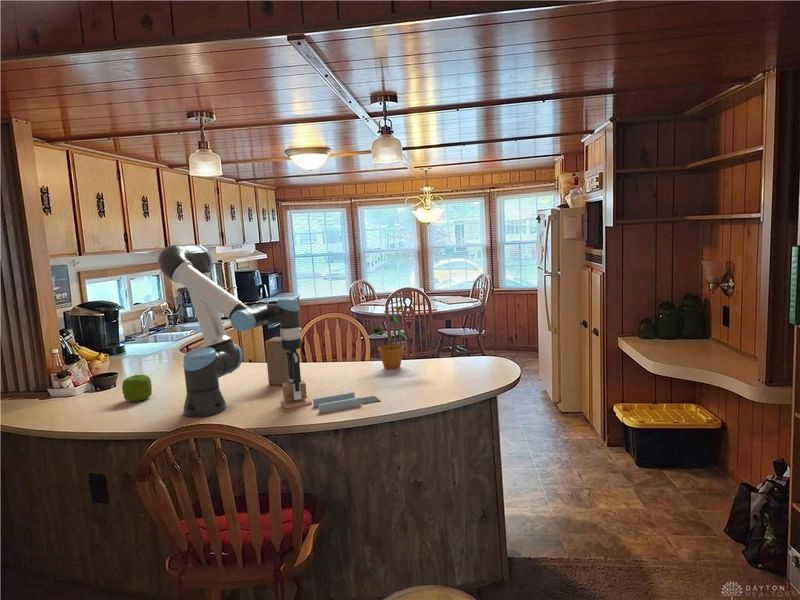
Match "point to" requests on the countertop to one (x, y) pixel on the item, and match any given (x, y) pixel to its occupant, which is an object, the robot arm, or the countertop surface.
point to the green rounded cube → (137, 388)
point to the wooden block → (276, 362)
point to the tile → (296, 403)
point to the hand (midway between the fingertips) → (296, 397)
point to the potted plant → (391, 346)
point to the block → (289, 393)
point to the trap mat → (369, 400)
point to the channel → (337, 402)
